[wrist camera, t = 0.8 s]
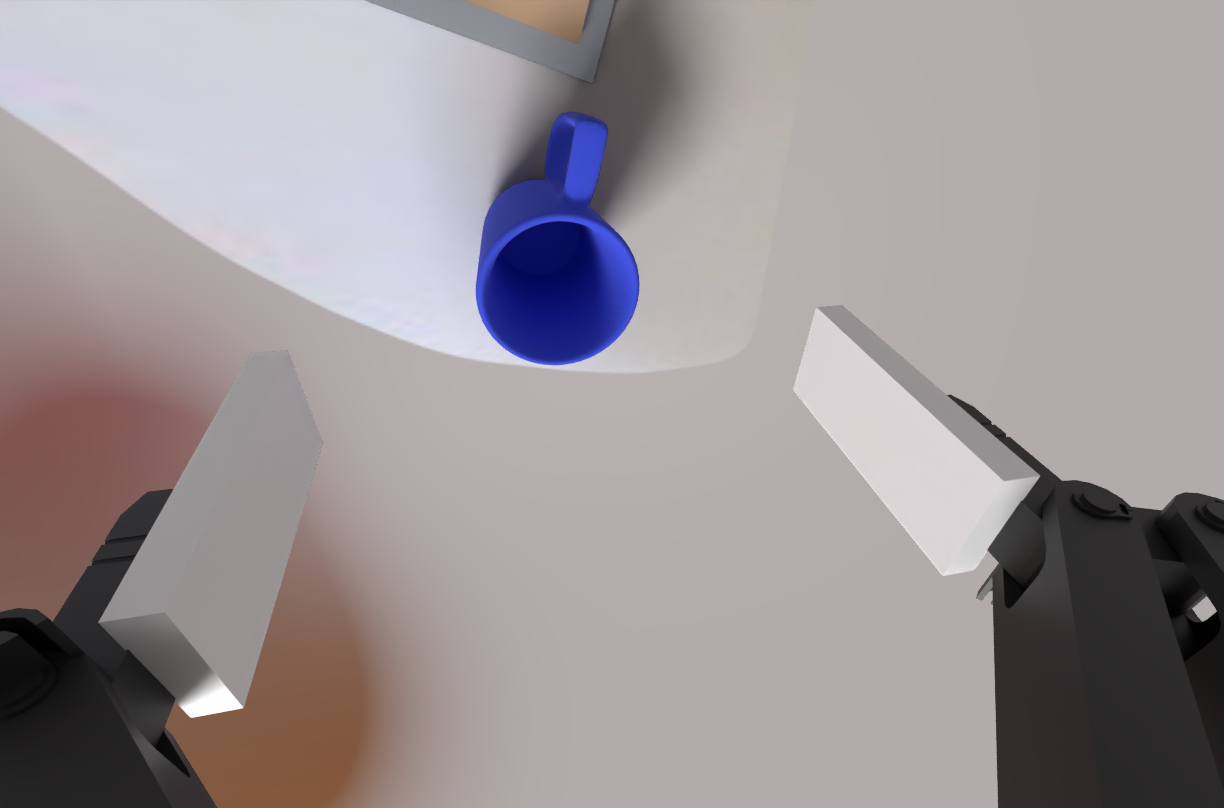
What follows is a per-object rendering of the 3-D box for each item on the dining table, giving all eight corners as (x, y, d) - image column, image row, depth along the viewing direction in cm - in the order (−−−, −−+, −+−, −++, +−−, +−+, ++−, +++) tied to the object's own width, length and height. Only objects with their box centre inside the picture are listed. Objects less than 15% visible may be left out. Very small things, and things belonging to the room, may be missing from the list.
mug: (630, 111, 32) (686, 146, 25) (584, 298, 39) (616, 373, 31) (489, 72, 30) (502, 97, 22) (464, 280, 36) (466, 357, 28)
